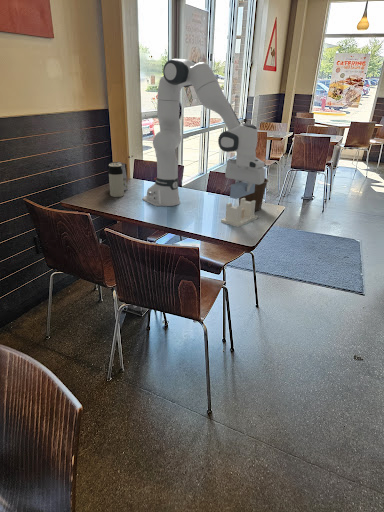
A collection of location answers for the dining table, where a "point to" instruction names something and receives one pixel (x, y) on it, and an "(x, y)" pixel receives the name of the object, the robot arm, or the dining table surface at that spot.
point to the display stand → (240, 213)
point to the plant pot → (256, 195)
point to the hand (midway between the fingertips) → (242, 190)
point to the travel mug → (116, 180)
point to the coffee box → (124, 174)
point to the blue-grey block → (240, 190)
